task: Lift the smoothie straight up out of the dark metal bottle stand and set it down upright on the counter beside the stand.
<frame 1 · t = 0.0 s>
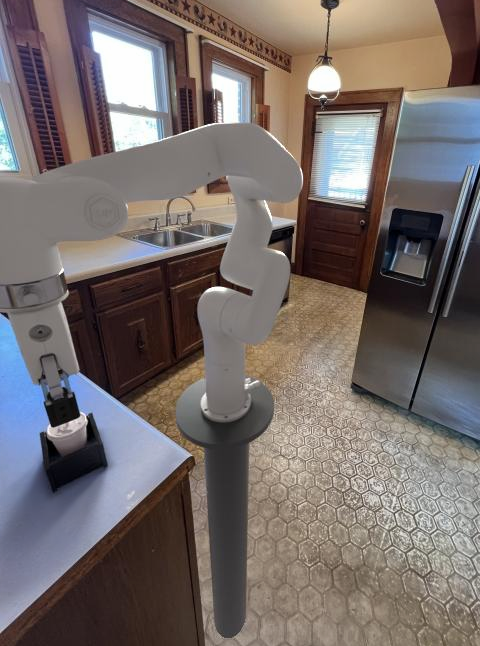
hand: (61, 399, 44), 24 cm above the counter, tool pointing down, fingers open, 9 cm apart
smoothie: (77, 460, 62), resting in bottle stand
bottle stand: (77, 460, 62), on the counter
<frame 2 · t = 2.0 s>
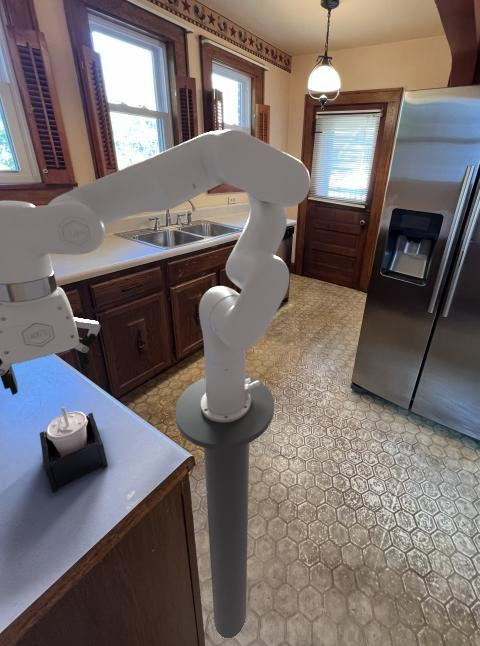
hand: (50, 378, 53), 20 cm above the counter, tool pointing down, fingers open, 9 cm apart
nothing on the counter moved.
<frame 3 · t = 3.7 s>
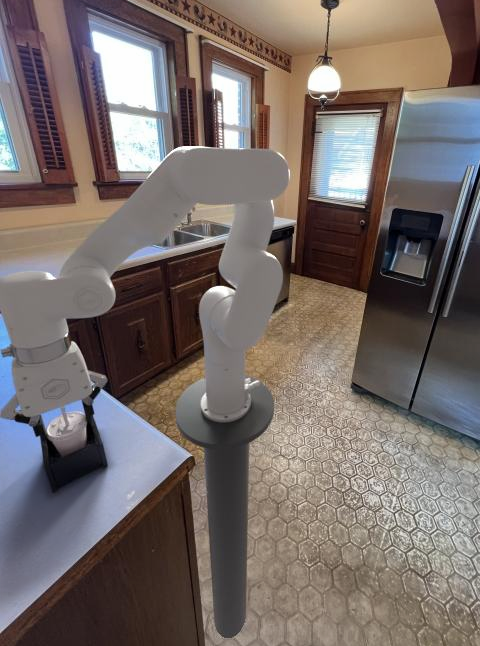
hand: (67, 426, 58), 9 cm above the counter, tool pointing down, fingers closed on smoothie, 6 cm apart
smoothie: (77, 460, 62), resting in bottle stand, touching gripper
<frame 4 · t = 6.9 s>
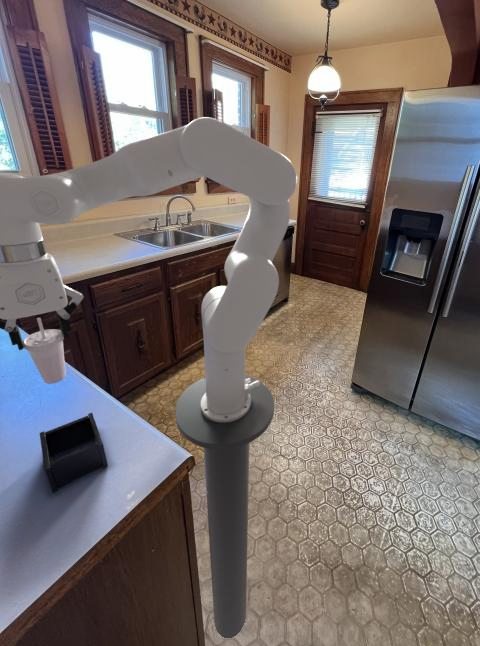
hand: (44, 339, 60), 23 cm above the counter, tool pointing down, fingers closed on smoothie, 6 cm apart
smoothie: (55, 378, 64), point 13 cm above the counter, touching gripper
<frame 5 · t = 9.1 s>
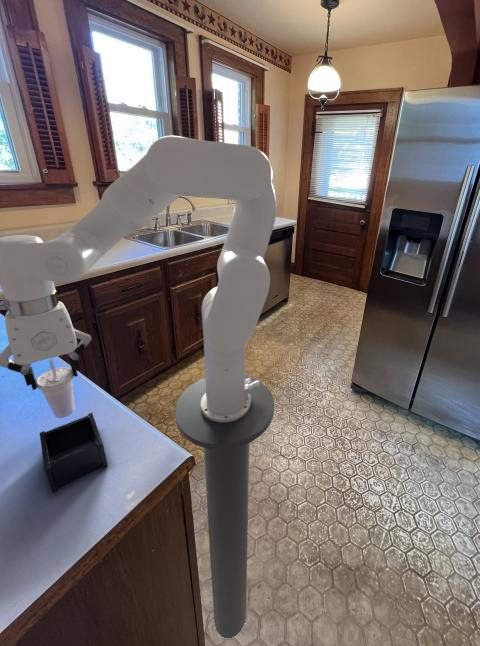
hand: (55, 378, 65), 12 cm above the counter, tool pointing down, fingers closed on smoothie, 6 cm apart
smoothie: (64, 412, 69), point 3 cm above the counter, touching gripper
when the fingers open (9 cm above the counter, at t = 10.5 s): smoothie stays where it is, on the counter.
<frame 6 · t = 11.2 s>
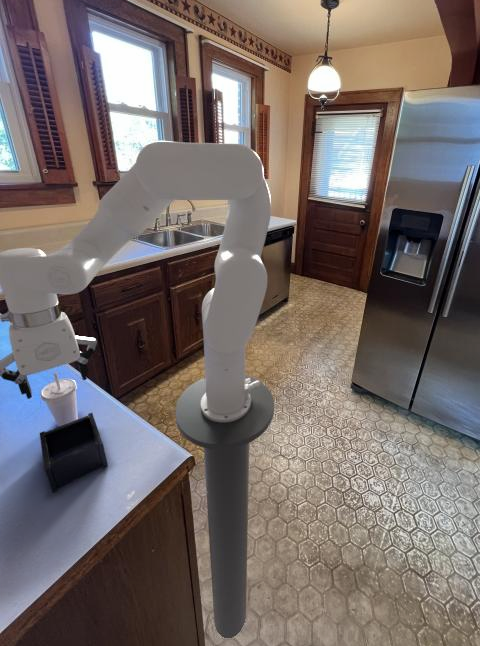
hand: (57, 385, 66), 10 cm above the counter, tool pointing down, fingers open, 9 cm apart
smoothie: (68, 422, 70), on the counter
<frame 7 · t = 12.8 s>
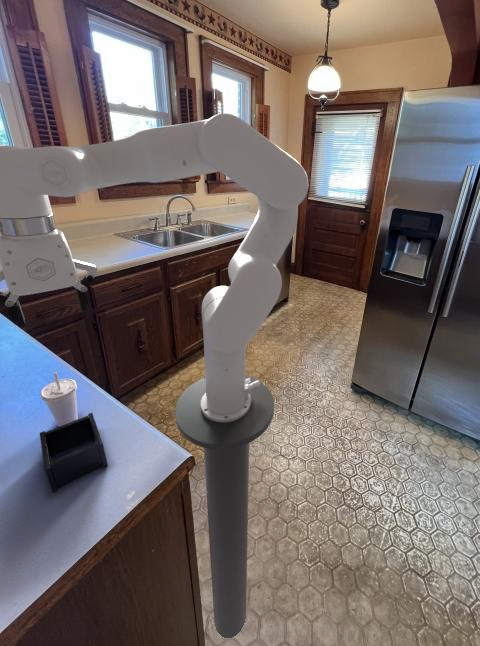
hand: (54, 315, 59), 27 cm above the counter, tool pointing down, fingers open, 9 cm apart
nothing on the counter moved.
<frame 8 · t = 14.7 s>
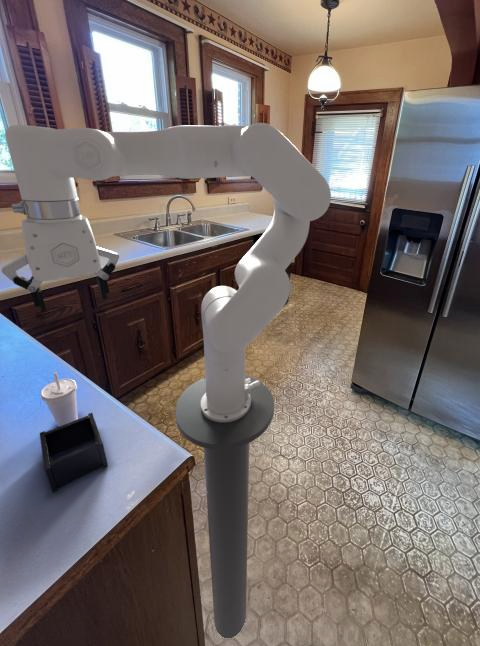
hand: (74, 303, 58), 30 cm above the counter, tool pointing down, fingers open, 9 cm apart
nothing on the counter moved.
at the end: smoothie inside the target area (0.1 cm from its centre), on the counter; smoothie tilted 0°; the gripper is holding nothing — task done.
